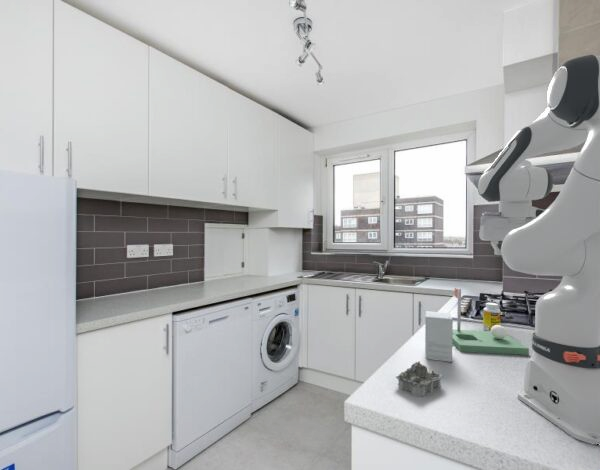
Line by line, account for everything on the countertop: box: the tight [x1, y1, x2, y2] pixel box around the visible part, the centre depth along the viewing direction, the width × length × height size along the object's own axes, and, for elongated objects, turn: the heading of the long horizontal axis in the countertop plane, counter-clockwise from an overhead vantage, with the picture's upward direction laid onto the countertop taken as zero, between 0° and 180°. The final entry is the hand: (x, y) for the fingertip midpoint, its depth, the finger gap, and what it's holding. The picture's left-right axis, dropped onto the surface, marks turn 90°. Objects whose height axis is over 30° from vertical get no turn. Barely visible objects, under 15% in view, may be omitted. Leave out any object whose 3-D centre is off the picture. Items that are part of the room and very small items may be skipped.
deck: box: [452, 287, 530, 356], centre depth 107 cm, size 19×20×17 cm
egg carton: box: [395, 361, 443, 397], centre depth 77 cm, size 11×8×4 cm
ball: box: [491, 324, 508, 339], centre depth 105 cm, size 4×4×4 cm
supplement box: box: [424, 310, 454, 363], centre depth 95 cm, size 7×7×13 cm
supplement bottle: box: [482, 302, 501, 331], centre depth 120 cm, size 6×6×10 cm
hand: (513, 255), depth 103 cm, fingers open, 8 cm apart
